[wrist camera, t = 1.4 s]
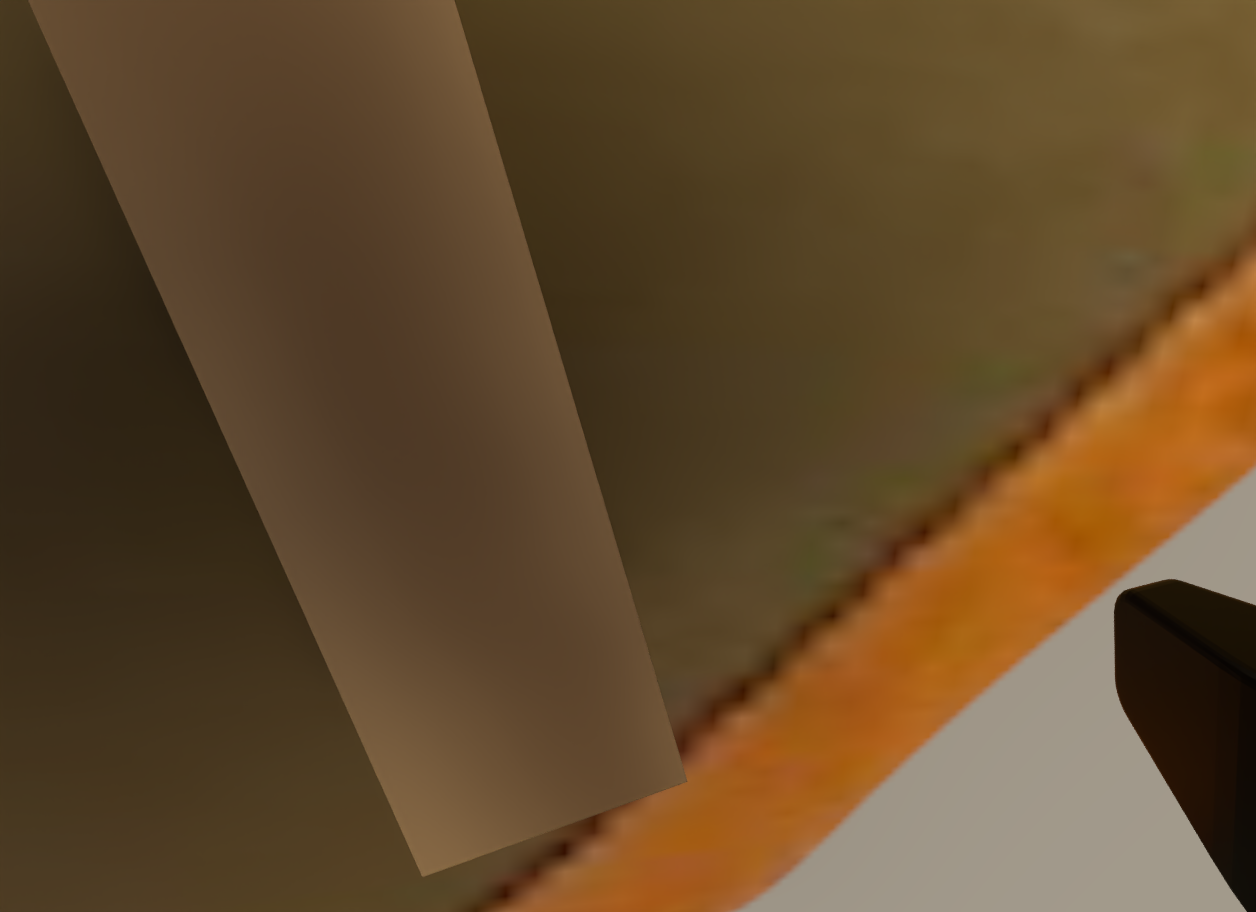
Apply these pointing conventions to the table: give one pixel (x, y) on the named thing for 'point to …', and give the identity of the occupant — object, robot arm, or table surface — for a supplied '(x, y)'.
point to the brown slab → (385, 391)
